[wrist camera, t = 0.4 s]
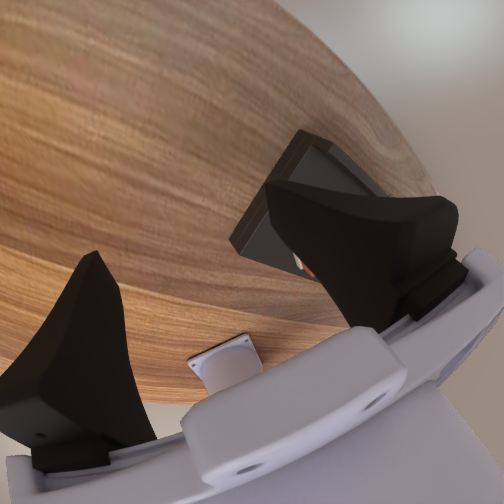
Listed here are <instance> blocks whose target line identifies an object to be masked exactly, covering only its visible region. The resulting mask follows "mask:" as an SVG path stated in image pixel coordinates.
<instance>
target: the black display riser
mask: <svg viewBox="0 0 504 504" xmlns="http://www.w3.org/2000/svg"><path fill="white" fill-rule="evenodd" d="M275 179H283V180H289V181H293V182H298V183H302V184H306V185H310V186H315V187H319V188H323V189H328V190H333V191H338V192H343V193H349V194H357V195H364V196H375V197H389V196H388V195H387V194H386V193H385V192H384V191H383V190H382V189H381V188H380V187H379V186H378V185H377V184H376V183H375V182H374V181H373V180H372V179H371V178H370V177H369V176H368V175H367V174H366V173H365V172H364V171H363V170H362V169H361V168H360V167H359V166H358V165H357V164H356V163H355V162H354V161H353V160H352V159H351V158H350V157H349V156H348V155H347V154H346V153H345V152H343V151H342V150H341V149H340V148H339V147H338V146H337V145H336V144H335V143H333V142H331V141H328V140H326V139H323V138H321V137H318V136H316V135H313V134H310V133H308V132H305V131H303V130H299V131H298V132H297V134H296V135H295V137H294V138H293V140H292V141H291V143H290V144H289V146H288V147H287V149H286V150H285V152H284V154H283V155H282V157H281V158H280V160H279V161H278V163H277V164H276V166H275V167H274V169H273V170H272V172H271V173H270V175H269V177H268V178H267V180H266V181H265V183H267V182H270V181H273V180H275ZM229 241H230V242H231V244H232V245H233V247H234V248H235V250H236V251H237V253H238V254H239V255H240V256H243V257H246V258H249V259H252V260H255V261H258V262H260V263H263V264H266V265H269V266H272V267H275V268H278V269H281V270H284V271H286V272H289V273H292V274H295V275H298V276H301V277H304V278H307V279H310V280H313V281H316V282H318V283H320V281H319V280H318V279H317V278H316V276H314V277H311V276H310V275H309V274H308V273H307V271H306V270H305V269H304V268H303V269H300V268H299V267H298V266H297V264H296V261H295V257H294V254H293V252H292V251H291V250H290V249H289V248H288V247H287V246H286V244H285V243H284V242H283V241H282V240H281V238H280V237H279V236H278V234H277V233H276V231H275V230H274V229H273V227H272V226H271V223H270V217H269V211H268V205H267V199H266V193H265V187H264V184H263V186H262V187H261V189H260V191H259V192H258V194H257V195H256V197H255V198H254V200H253V202H252V203H251V205H250V206H249V208H248V209H247V211H246V213H245V214H244V216H243V217H242V219H241V221H240V222H239V224H238V225H237V227H236V229H235V230H234V232H233V233H232V235H231V237H230V238H229Z"/></svg>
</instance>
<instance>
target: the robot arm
mask: <svg viewBox="0 0 504 504" xmlns="http://www.w3.org/2000/svg"><path fill="white" fill-rule="evenodd" d="M264 187H265V193H266V199H267V205H268V211H269V217H270V223H271V226H272V227H273V229H274V230H275V231H276V233H277V234H278V236H279V237H280V238H281V240H282V241H283V242H284V243H285V244H286V246H287V247H288V248H289V249H290V250H291V251H292V252H293V253H294V254H295V255H296V256H297V257H298V258H299V259H300V260H301V261H302V262H303V263H304V265H305V266H306V267H307V268H308V269H309V270H310V271H311V272H312V273H313V274H314V275H315V276H316V278H317V279H318V280H319V281H320V283H321V284H322V285H323V287H324V288H325V289H326V291H327V292H328V293H329V295H330V296H331V298H332V299H333V301H334V302H335V304H336V305H337V307H338V308H339V310H340V311H341V313H342V314H343V316H344V317H345V319H346V321H347V322H348V324H349V325H350V327H351V328H350V329H347V330H345V331H343V332H340V333H338V334H335V335H333V336H331V337H330V338H328V339H326V340H324V341H322V342H321V343H319V344H317V345H315V346H313V347H311V348H310V349H308V350H306V351H304V352H302V353H300V354H298V355H296V356H294V357H292V358H290V359H288V360H286V361H284V362H282V363H280V364H278V365H276V366H274V367H272V368H270V369H268V370H266V371H263V365H262V363H261V361H260V359H259V357H258V354H257V352H256V350H255V348H254V346H253V343H252V341H251V339H250V337H249V335H248V334H243V335H241V336H238V337H236V338H234V339H232V340H230V341H228V342H226V343H224V344H222V345H220V346H218V347H215V348H213V349H211V350H209V351H207V352H205V353H202V354H200V355H198V356H196V357H194V358H191V359H189V360H188V361H187V363H188V365H189V366H190V368H191V369H192V370H193V371H194V372H195V373H196V374H197V375H198V376H199V377H200V378H201V379H202V381H203V382H204V384H205V387H206V389H207V392H208V394H209V397H207V398H205V399H203V400H201V401H200V402H198V403H196V404H194V405H193V406H192V408H191V409H190V410H189V411H188V412H187V414H186V415H185V416H184V417H183V418H182V420H181V421H180V424H181V426H182V429H183V432H180V433H177V434H174V435H171V436H168V437H164V438H161V439H157V437H156V435H155V433H154V431H153V428H152V426H151V424H150V422H149V419H148V417H147V414H146V412H145V409H144V407H143V404H142V401H141V398H140V395H139V392H138V389H137V386H136V383H135V380H134V376H133V372H132V369H131V365H130V361H129V355H128V348H127V340H126V331H125V320H124V310H123V304H122V299H121V294H120V290H119V286H118V285H117V283H116V281H115V280H114V278H113V277H112V275H111V273H110V272H109V270H108V268H107V267H106V265H105V263H104V262H103V260H102V258H101V256H100V255H99V253H98V251H97V250H95V251H93V252H91V253H89V254H87V255H84V256H83V258H82V259H81V261H80V262H79V264H78V265H77V267H76V269H75V270H74V272H73V274H72V276H71V277H70V279H69V281H68V283H67V285H66V286H65V288H64V290H63V292H62V293H61V295H60V297H59V298H58V300H57V302H56V304H55V305H54V307H53V309H52V311H51V312H50V314H49V315H48V317H47V318H46V320H45V321H44V323H43V324H42V326H41V327H40V329H39V330H38V332H37V333H36V334H35V336H34V337H33V338H32V340H31V341H30V342H29V344H28V345H27V346H26V348H25V349H24V350H23V351H22V353H21V354H20V355H19V356H18V358H17V359H16V360H15V361H14V362H13V363H12V364H11V366H10V367H9V368H8V369H7V370H6V371H5V372H4V373H3V374H2V375H1V376H0V432H2V433H3V434H5V435H6V436H8V437H10V438H12V439H14V440H16V441H17V442H19V443H21V444H23V445H25V446H27V447H29V448H31V456H32V457H31V456H28V455H15V456H7V457H6V466H7V477H8V486H9V493H10V499H11V504H504V471H503V470H502V469H501V467H500V466H499V465H498V463H497V462H496V460H495V459H494V458H493V456H492V455H491V454H490V452H489V451H488V450H487V449H486V447H485V446H484V445H483V444H482V442H481V441H480V440H479V438H478V437H477V436H476V434H475V433H474V432H473V431H472V429H471V428H470V427H469V426H468V424H467V423H466V422H465V421H464V420H463V418H462V417H461V416H460V415H459V413H458V412H457V411H456V410H455V409H454V407H453V406H452V405H451V404H450V402H449V401H448V400H447V399H446V398H445V396H444V395H443V394H442V393H441V392H440V391H439V389H438V387H439V386H440V385H441V384H442V383H443V382H444V381H446V379H448V377H449V376H450V375H451V374H452V373H453V372H454V371H455V370H456V369H457V368H458V367H459V366H460V365H461V364H462V363H463V362H464V361H465V359H466V358H467V357H468V356H469V355H470V354H471V353H472V352H473V350H474V349H475V348H476V347H477V346H478V345H479V343H480V342H481V341H482V340H483V338H484V337H485V336H486V335H487V334H488V333H489V331H490V330H491V329H492V327H493V326H494V325H495V324H496V322H497V321H498V319H499V318H500V316H501V315H502V313H503V312H504V266H503V265H502V264H501V263H499V262H498V261H497V260H496V259H494V258H493V257H492V256H491V255H489V254H488V253H486V252H485V251H484V250H483V249H482V248H480V247H479V246H477V247H475V248H474V249H473V250H472V251H471V252H470V253H468V254H467V255H466V256H465V257H464V258H463V260H462V262H461V263H460V262H459V261H457V260H456V259H455V258H456V256H457V253H456V252H455V251H454V250H453V249H451V246H452V243H453V239H454V236H455V232H456V229H457V225H458V216H459V214H458V210H457V206H456V205H455V204H453V203H452V202H451V201H449V200H447V199H446V198H444V197H442V196H429V197H414V198H394V197H375V196H364V195H357V194H349V193H343V192H338V191H333V190H328V189H323V188H319V187H315V186H310V185H306V184H302V183H298V182H293V181H289V180H283V179H275V180H273V181H270V182H267V183H264Z"/></svg>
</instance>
